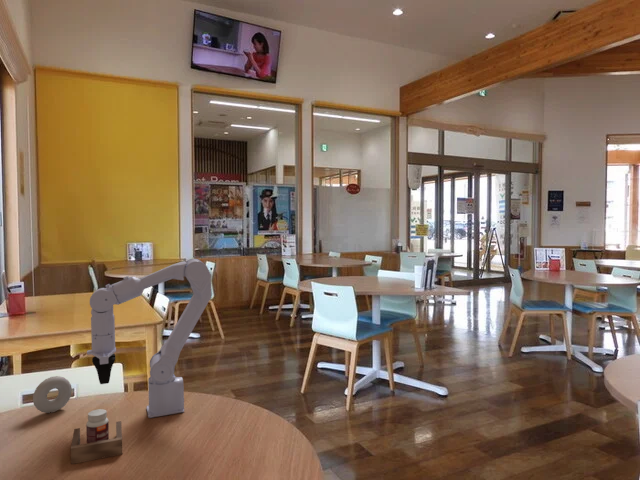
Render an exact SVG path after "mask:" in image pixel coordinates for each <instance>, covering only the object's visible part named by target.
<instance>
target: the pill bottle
mask: <svg viewBox="0 0 640 480" xmlns="http://www.w3.org/2000/svg"><path fill="white" fill-rule="evenodd" d="M107 415H108V413H107V410H106V409H103V408H99V409H93V410H91V411H89V412H88V413H87V421H86V425H85V426H86V429H85V430H86V431H85V432H86V443H92V442H97V441H103V440H108V439H109V438H110V436H109V435H110V434H109V433H110V432H109V427H110V426H109V423H110V422H109V421H110V420H109V418H108V417H107Z"/></svg>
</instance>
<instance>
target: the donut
mask: <svg viewBox="0 0 640 480" xmlns="http://www.w3.org/2000/svg"><path fill="white" fill-rule="evenodd" d="M56 389H57V391H58V392H57V396H56V397H55V398H54V399H48V394H49V392H50V391H51V390H56ZM72 391H73V388H72V384H71V383H70V381H69V380H68V379H67V378H65V377H63V376H60V375H56V376H50V377H48V378H45V379H44V380H42V381H41V382H40V383H39V384H38V385H37V386H36V388H35V390H34V391H33V395H32V402H33V405H34V407H35V408H36V409H37V411H39V412H40V413H47V414H50V412H51V413H55V412H58V411H59V410H61V409H62V408H64V407H65V406H66V405H67V403H69V402H70V399H71V397H72V393H73V392H72Z"/></svg>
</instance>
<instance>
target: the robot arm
mask: <svg viewBox="0 0 640 480" xmlns="http://www.w3.org/2000/svg"><path fill="white" fill-rule="evenodd" d="M185 278H186V280H187V281H188V282H189V285H190V288H191V291H192V293H193V294H192V296H191V298H190V299H189V301H188V303H187V305H186V306H185V308H184V309H183V312H182V314H181V315H180V316H179V319H178V321H177V322H176V324H175V326H174V327H173V328H172V331H171V333H170V334H169V336H168V338H167V339H166V341H165V342H164V344H163V345H162V346H160V349H159V350H158V351H157V352H156V353H155V354H153V355H152V356H151V357H150V360H149V367H150V370H149V376H150V377H148V379H147V380H148V382H147V383H148V388H147V389H148V405H146V412H147V418H149V419H151V418H152V419H153V418H157V417H164V416H168V415H169V416H170V415H174V414H175V415H176V414H180V413H184V412H185V393H184V392H185V389H184V379H183V377H182V376H176V375H175V369H176V368H175V367H176V365H177V363H178V360H179V357H180V354H181V352H182V349H183V348H184V346H185V344H186V343H187V341H188V339H189V338H190V335H191V334H192V332H193V330H194V328H195V327H196V325H197V323H198V321H199V320H200V318H201V316H202V314H203V312H204V311H205V309H206V307H207V305H208V304H209V302H210V300H211V298H212V294H213V293H212V281H211V280H212V279H211V278H212V274H211V272H210V269H209V268H208V266H207V265H206V263H204V262H203V261H202V260H201V259H197V258H190V259H188V260H187V261H184V260H183V261H180V262H176V263H173V264H171V265H168V266H166V267H163V268H162V269H159V270H156V271H154V272H152V273H150V274H147V275H145V276H143V277H141V278H139V277H137V276H130V277H129V275H127V276H124V277H123V279H122V280H120V281H118V282H115V283H112V284H110V283H108V284H106V285H105V287H100V288H97V289H96V290H94V292H93V293H92V294H91V296H90V298H89V306H90V308H91V311H90V314H91V317H90V329H91V330H90V331H91V333H90V334H91V349H89V350H87V351H86V354H87V355H88V356H89V355H92V356H93V357H91V363H92V364H93V366H94V367H95V370H96V373H97V377H98V381H99V384H100V385H105V384H109V383H110V380H111V379H110V378H111V374H112V369H113V366H114V363H115V361H116V354H115V353H116V352H117V347H116V329H115V328H116V327H115V326H116V323H115V322H116V321H115V319H116V318H115V314H114V305H122V304H124V303H126V302H128V301H131V300H133V299H136V298H138V297H141V296H142V295H143V292H144V290H145V289H149V288H151V287H153V286H156V285H159V284H162V283H164V282H167V281H170V280H176V281H177V280H178V281H185Z"/></svg>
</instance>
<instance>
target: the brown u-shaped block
mask: <svg viewBox="0 0 640 480" xmlns="http://www.w3.org/2000/svg"><path fill="white" fill-rule="evenodd" d="M122 430H123V429H122V420H119V421H116V422H115V431H116V432H115V433H116V434H115V435H116V437H115V438H110V439H108V440H103V441H97V442H92V443H87V442H86V443H81V428H80V427H79V428H74V430H73V435H72V439H71V446H70V464H71V465H75V464H79V463H83V462H89V461H95V460H100V459H103V458H104V459H105V458H111V457H114V456H120V455H123V431H122Z"/></svg>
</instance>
